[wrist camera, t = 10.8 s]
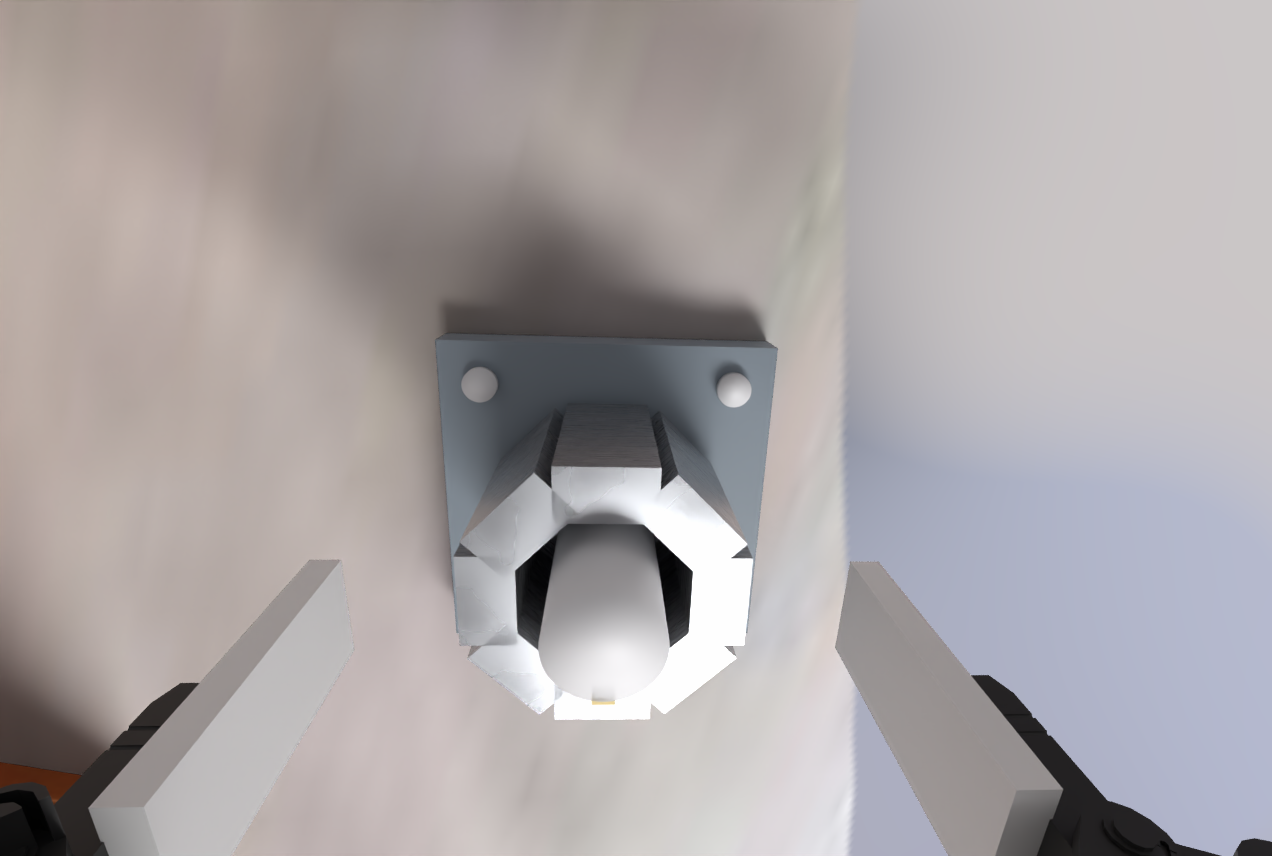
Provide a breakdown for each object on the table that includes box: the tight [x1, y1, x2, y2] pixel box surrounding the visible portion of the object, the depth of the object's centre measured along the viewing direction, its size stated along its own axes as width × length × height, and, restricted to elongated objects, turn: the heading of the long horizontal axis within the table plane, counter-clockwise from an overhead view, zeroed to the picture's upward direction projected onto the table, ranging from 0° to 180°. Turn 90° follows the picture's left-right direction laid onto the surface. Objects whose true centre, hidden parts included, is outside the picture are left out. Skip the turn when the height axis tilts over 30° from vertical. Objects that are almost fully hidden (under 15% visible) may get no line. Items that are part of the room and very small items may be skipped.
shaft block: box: [435, 333, 778, 705], centre depth 19 cm, size 12×12×10 cm
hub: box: [453, 403, 753, 720], centre depth 19 cm, size 8×8×6 cm
